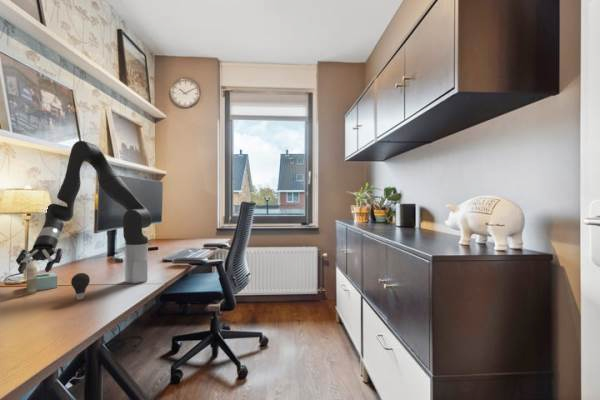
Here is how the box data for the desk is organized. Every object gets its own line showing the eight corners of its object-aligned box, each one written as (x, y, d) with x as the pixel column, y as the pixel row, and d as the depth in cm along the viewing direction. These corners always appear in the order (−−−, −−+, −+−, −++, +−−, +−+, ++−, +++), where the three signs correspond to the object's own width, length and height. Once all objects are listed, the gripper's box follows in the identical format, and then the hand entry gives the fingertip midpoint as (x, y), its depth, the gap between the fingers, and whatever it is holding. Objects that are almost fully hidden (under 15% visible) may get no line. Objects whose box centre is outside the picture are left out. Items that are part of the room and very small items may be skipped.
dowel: (36, 293, 120) (37, 263, 120) (26, 295, 118) (27, 264, 118) (35, 292, 122) (36, 262, 122) (25, 293, 120) (26, 263, 120)
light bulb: (92, 299, 114) (92, 272, 114) (75, 303, 109) (75, 275, 109) (85, 296, 116) (85, 270, 117) (67, 300, 112) (68, 273, 112)
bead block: (57, 287, 129) (57, 275, 129) (28, 291, 122) (29, 279, 122) (54, 283, 135) (54, 272, 135) (26, 287, 128) (27, 275, 128)
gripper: (24, 234, 128) (7, 267, 117) (64, 234, 133) (52, 265, 122) (30, 245, 133) (15, 278, 122) (69, 244, 138) (57, 275, 127)
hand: (33, 271), depth 122 cm, fingers open, 8 cm apart
